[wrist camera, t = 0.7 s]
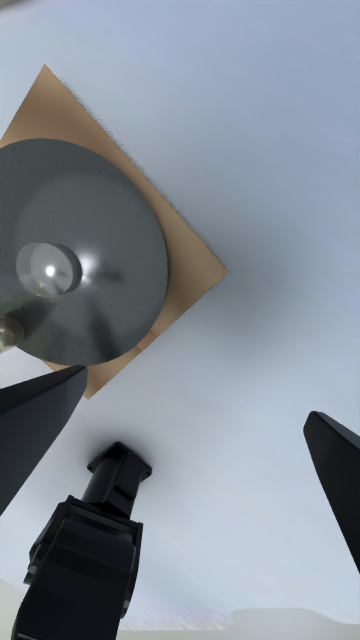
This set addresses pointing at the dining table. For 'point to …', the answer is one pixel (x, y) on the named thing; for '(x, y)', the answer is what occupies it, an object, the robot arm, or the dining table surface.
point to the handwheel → (75, 255)
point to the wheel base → (182, 243)
